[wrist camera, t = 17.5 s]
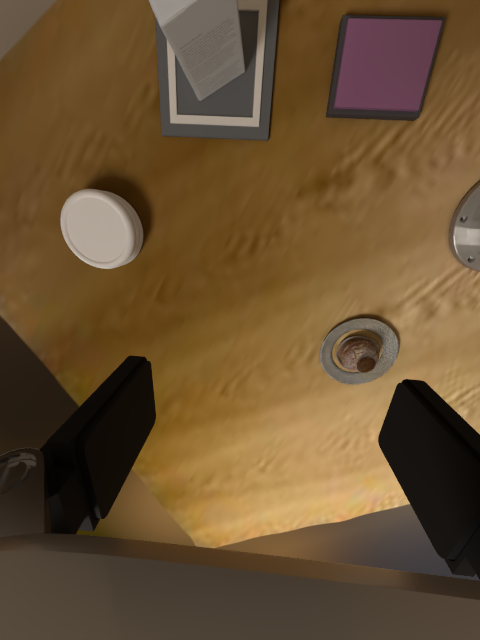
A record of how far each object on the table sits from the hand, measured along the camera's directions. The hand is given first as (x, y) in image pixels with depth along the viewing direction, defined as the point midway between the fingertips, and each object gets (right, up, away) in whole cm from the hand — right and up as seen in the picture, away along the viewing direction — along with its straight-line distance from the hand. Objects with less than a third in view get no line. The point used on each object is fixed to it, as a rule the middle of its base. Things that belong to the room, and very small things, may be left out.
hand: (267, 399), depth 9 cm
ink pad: (+14, +30, +17) cm, 37 cm away
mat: (-4, +31, +18) cm, 37 cm away
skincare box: (-4, +31, +18) cm, 36 cm away
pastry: (+18, -2, +31) cm, 36 cm away
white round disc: (-20, +16, +26) cm, 36 cm away
